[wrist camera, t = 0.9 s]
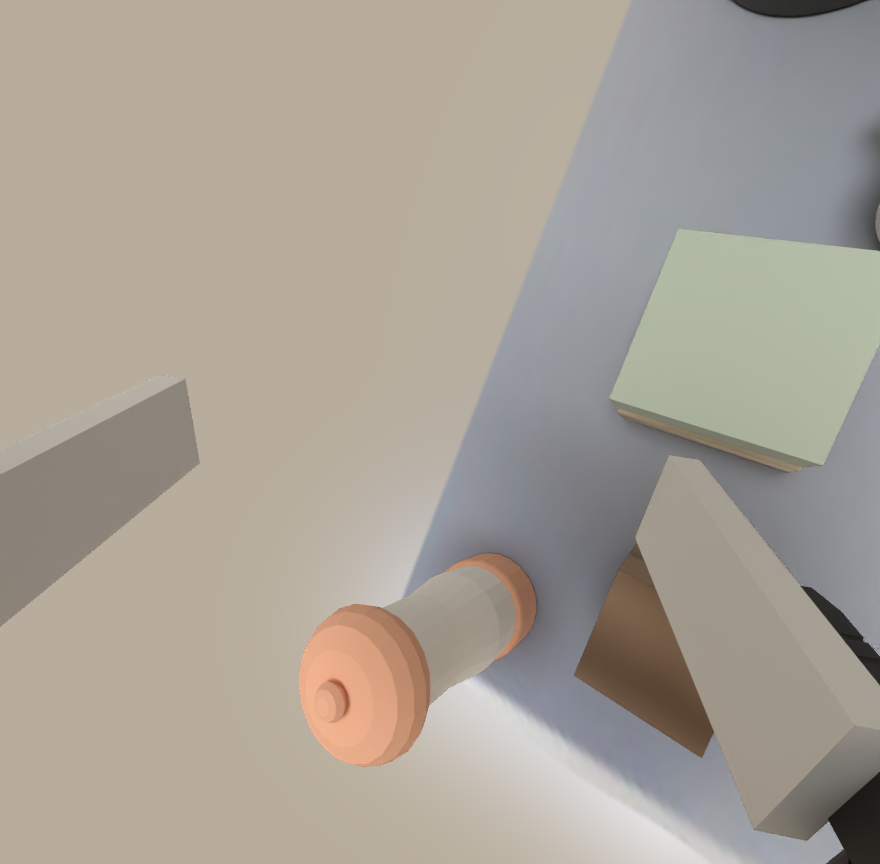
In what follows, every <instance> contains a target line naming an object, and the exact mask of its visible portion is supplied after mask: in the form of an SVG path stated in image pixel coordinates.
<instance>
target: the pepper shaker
mask: <svg viewBox="0 0 880 864" xmlns="http://www.w3.org/2000/svg"><path fill="white" fill-rule="evenodd" d="M536 612H537V608H536V595H535V592H534V589H533V586H532V583H531V581H530V579H529V578H528V576H527V575H526V574H525V572H524V571H523V569H522V568H521V567H520V566H518V565H517V564H516V563H515V562H514V561H512V560H511V559H509V558H507V557H504V556H502V555H500V554H494V553H483V554H480V555H476V556H473V557H470V558H468V559H465V560H462V561H460V562H457V563H455V564H454V565H452V566H451V567H450V568H448V569H447V570H446V571H445V572H444V573H442V574H439V575H436V576H433V577H432V578H430V579H429V580H428V581H427V582H425V583H424V584H423V585H421V586H420V587H419V588H418V589H416V590H415V591H414V592H412V593H411V594H410V595H409V596H407V597H406V598H404V599H402V600H399V601H397V602H395V603H393V604H391V605H388V606H386V607H384V608H380V607H375V606H367V605H360V604H354V605H350V606H346V607H343V608H340V609H338V610H337V611H336V612H334V613H333V614H332V615H331V616H330V617H329V618H327V619H326V620H325V621H324V622H322V623H321V624H320V625H319V626H318V627H317V629H316V631H315V632H314V634H313V636H312V637H311V639H310V641H309V642H308V645H307V647H306V649H305V651H304V654H303V658H302V662H301V666H300V671H299V673H300V674H299V692H300V697H301V702H302V708H303V712H304V714H305V717H306V719H307V721H308V724H309V726H310V729H311V731H312V732H313V734H314V735H315V736H316V738H317V739H318V741H319V742H320V744H321V745H322V747H324V748H325V749H326V750H327V751H328V752H329V753H331V754H332V755H333V756H334V757H336V758H337V759H339V760H342V761H344V762H347V763H350V764H353V765H357V766H362V767H368V766H381V765H384V764H386V763H388V762H391V761H393V760H394V759H396V758H398V757H399V756H401V755H403V754H404V753H406V752H408V751H409V749H410V748H411V746H412V745H413V743H414V742H415V740H416V739H417V737H418V736H419V735H420V733H421V730H422V728H423V725H424V722H425V718H426V714H427V711H428V707H429V705H430V704H431V703H433V702H434V701H435V700H436V699H437V698H438V697H439V696H441V695H442V694H443V693H444V692H445V691H446V690H447V689H448V688H450V687H452V686H454V685H456V684H458V683H460V682H462V681H464V680H466V679H468V678H470V677H472V676H474V675H476V674H478V673H479V672H481V671H482V670H484V669H485V668H487V667H488V666H489V665H490V664H491V663H492V662H493V660H497V659H500V658H501V657H503V656H504V655H506V654H508V653H509V652H511V651H512V650H513V649H514V648H515V647H516V646H517V645H518V644H519V642H520V641H521V640H522V639H523V638H524V637H525V636H526V635H527V633H528V632H529V631H530V629H531V628H532V626H533V623H534V620H535V616H536Z"/></svg>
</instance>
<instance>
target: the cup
mask: <svg viewBox="0 0 880 864" xmlns="http://www.w3.org/2000/svg"><path fill="white" fill-rule="evenodd" d="M875 228H876V234H877V237H878V240H879V242H880V203H879V206H878V209H877V213H876V220H875Z"/></svg>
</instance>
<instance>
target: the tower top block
mask: <svg viewBox="0 0 880 864" xmlns="http://www.w3.org/2000/svg"><path fill="white" fill-rule="evenodd" d="M879 345H880V251H875V250H866V249H857V248H849V247H840V246H831V245H822V244H813V243H804V242H795V241H786V240H777V239H768V238H759V237H750V236H741V235H732V234H723V233H714V232H705V231H696V230H687V229H678V231H677V233H676V236H675V238H674V241H673V243H672V246H671V248H670V250H669V253H668V255H667V258H666V260H665V263H664V265H663V268H662V270H661V273H660V275H659V277H658V280H657V282H656V285H655V287H654V290H653V292H652V295H651V297H650V299H649V302H648V304H647V307H646V309H645V312H644V314H643V317H642V319H641V322H640V324H639V326H638V329H637V331H636V334H635V336H634V339H633V341H632V344H631V346H630V349H629V351H628V353H627V356H626V358H625V361H624V363H623V366H622V368H621V371H620V373H619V375H618V378H617V380H616V383H615V385H614V388H613V390H612V393H611V395H610V398H609V399H610V400H611V401H612V402H613V403H614V404H615V405H616V407H617V408H619V409H622V410H625V411H628V412H632V413H635V414H638V415H641V416H644V417H647V418H650V419H653V420H657V421H660V422H663V423H666V424H669V425H672V426H675V427H678V428H681V429H685V430H688V431H691V432H694V433H697V434H700V435H703V436H706V437H710V438H713V439H716V440H719V441H722V442H725V443H728V444H731V445H735V446H738V447H741V448H744V449H747V450H750V451H753V452H756V453H760V454H763V455H766V456H769V457H772V458H775V459H778V460H781V461H785V462H788V463H791V464H794V465H797V466H800V467H811V466H823V465H824V463H825V460H826V458H827V456H828V454H829V452H830V450H831V448H832V445H833V443H834V441H835V439H836V437H837V435H838V433H839V430H840V428H841V426H842V424H843V422H844V420H845V418H846V415H847V413H848V411H849V409H850V407H851V405H852V403H853V400H854V398H855V396H856V394H857V392H858V390H859V388H860V385H861V383H862V381H863V379H864V377H865V375H866V372H867V370H868V368H869V366H870V364H871V362H872V360H873V357H874V355H875V353H876V351H877V349H878V347H879Z"/></svg>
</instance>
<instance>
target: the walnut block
mask: <svg viewBox="0 0 880 864" xmlns="http://www.w3.org/2000/svg"><path fill="white" fill-rule="evenodd" d="M574 676H576V677H577V678H579V679H580V680H582V681H583V682H585V683H586V684H588V685H589V686H591V687H593V688H594V689H596V690H597V691H599V692H600V693H602V694H603V695H605V696H606V697H608V698H610V699H611V700H613V701H614V702H616V703H617V704H619V705H620V706H622V707H623V708H625V709H627V710H628V711H630V712H631V713H633V714H634V715H636V716H637V717H639V718H640V719H642V720H643V721H645V722H647V723H648V724H650V725H651V726H653V727H654V728H656V729H657V730H659V731H660V732H662V733H664V734H665V735H667V736H668V737H670V738H671V739H673V740H674V741H676V742H677V743H679V744H681V745H682V746H684V747H685V748H687V749H688V750H690V751H691V752H693V753H694V754H696V755H698V756H699V757H701V758H702V756H703V754H704V752H705V750H706V748H707V746H708V743H709V741H710V739H711V737H712V735H713V733H714V730H713V728H712V726H711V723H710V721H709V718H708V716H707V713H706V711H705V708H704V706H703V703H702V701H701V699H700V696H699V694H698V691H697V689H696V686H695V684H694V681H693V679H692V676H691V674H690V672H689V669H688V667H687V664H686V662H685V659H684V657H683V654H682V652H681V649H680V647H679V645H678V642H677V640H676V637H675V635H674V632H673V630H672V627H671V625H670V622H669V620H668V618H667V615H666V613H665V610H664V608H663V605H662V603H661V600H660V598H659V595H658V593H657V590H656V588H655V586H654V583H653V581H652V578H651V576H650V573H649V571H648V568H647V566H646V563H645V561H644V559H643V556H642V554H641V551H640V549H639V546H638V544H636V546H635V547H634V549H633V550H632V551H631V553H630V554H629V556H628V557H627V558H626V560H625V561H624V563H623V564H622V565H621V567H620V568H619V570H618V572H617V574H616V576H615V579H614V581H613V584H612V586H611V588H610V591H609V593H608V595H607V598H606V600H605V603H604V605H603V607H602V610H601V612H600V614H599V617H598V619H597V622H596V624H595V626H594V629H593V631H592V633H591V636H590V638H589V641H588V643H587V645H586V648H585V650H584V652H583V655H582V657H581V660H580V662H579V664H578V667H577V669H576V672H575V674H574Z"/></svg>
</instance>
